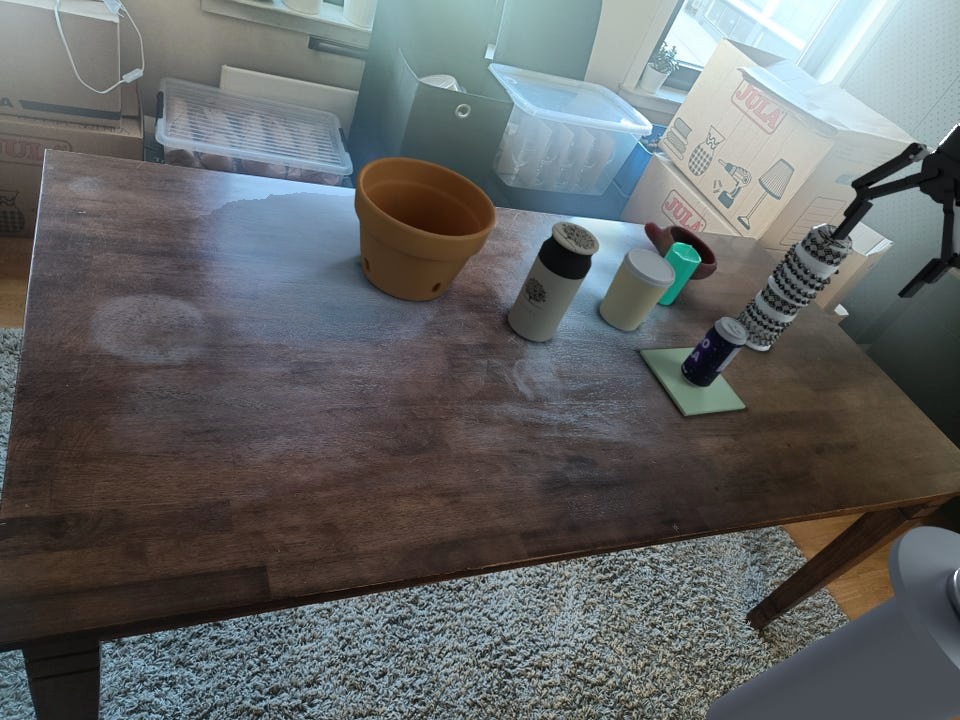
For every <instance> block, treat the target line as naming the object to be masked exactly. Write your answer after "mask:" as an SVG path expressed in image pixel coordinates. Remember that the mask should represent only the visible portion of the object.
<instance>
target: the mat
mask: <svg viewBox="0 0 960 720" xmlns="http://www.w3.org/2000/svg"><path fill="white" fill-rule="evenodd" d="M694 348H695V347H680V348H661V349H660V348H659V349H658V348H657V349H641V350H640V351H639V354H640V355H641V357H642V359H644V361H645V362H646V363H647V365H648V367H649V368H650V369H651V371H652V372H653V374H654V375H655V376H656V378H657V379H658V381H659V382H660V383H661V385H662V387H663V388H664V389H665V391H666V392H667V394H668V396H670V398H671V399H672V401H673V402H674V404H675V405H676V407H677V408H678V409H679V411H680V412H681V414H682V415H683V416H684V417H688V416H694V415H704V414H712V413H720V412H728V411H737V410H738V411H739V410H743V409H745V408H746V405H745V404H744V403H743V401H742V400H741V398H740V397H739V396H738V394H737V393H736V392H735V391H734V389H733V388H732V387H731V386H730V384H729V383H728V382H727V381H726V380H725V378H724V377H723V375H722V374H721V373H720V374H719V375H718V376H717V378H716V379H715V380H714V381H713V382H712V383H711V385H710V386H708V387H695V386H693V385H691V384H689V383H688V382H687V381H686V380H685V379H684V377H683V375H682V371H681V365H682V364H683V362H684V361H685V360H686V359H687V357H688V356H689V355H690V353H691V352H692V351H693V350H694Z"/></svg>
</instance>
